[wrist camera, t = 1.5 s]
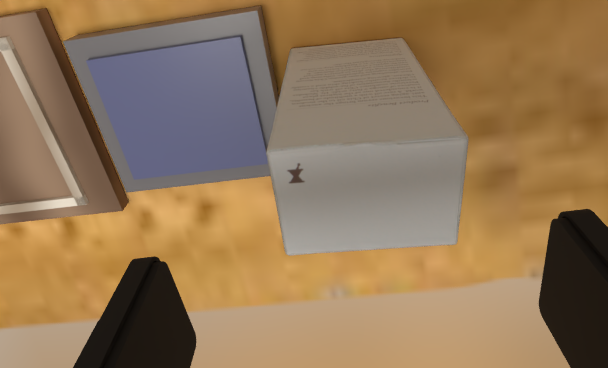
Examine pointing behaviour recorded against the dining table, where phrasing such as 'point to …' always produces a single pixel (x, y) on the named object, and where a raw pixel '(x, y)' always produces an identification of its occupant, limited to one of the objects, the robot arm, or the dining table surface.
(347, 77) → the skincare box
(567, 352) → the robot arm
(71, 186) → the marked board
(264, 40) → the ink pad
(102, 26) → the dining table surface
